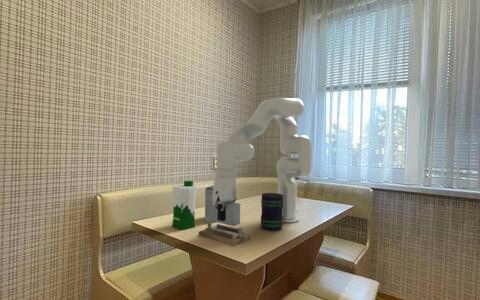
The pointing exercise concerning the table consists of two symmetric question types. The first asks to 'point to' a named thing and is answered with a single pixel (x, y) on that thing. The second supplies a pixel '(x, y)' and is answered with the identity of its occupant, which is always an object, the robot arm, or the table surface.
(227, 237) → the dock
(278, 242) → the table surface
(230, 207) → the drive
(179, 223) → the milk carton
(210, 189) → the coffee box
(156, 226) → the table surface
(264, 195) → the storage jar
